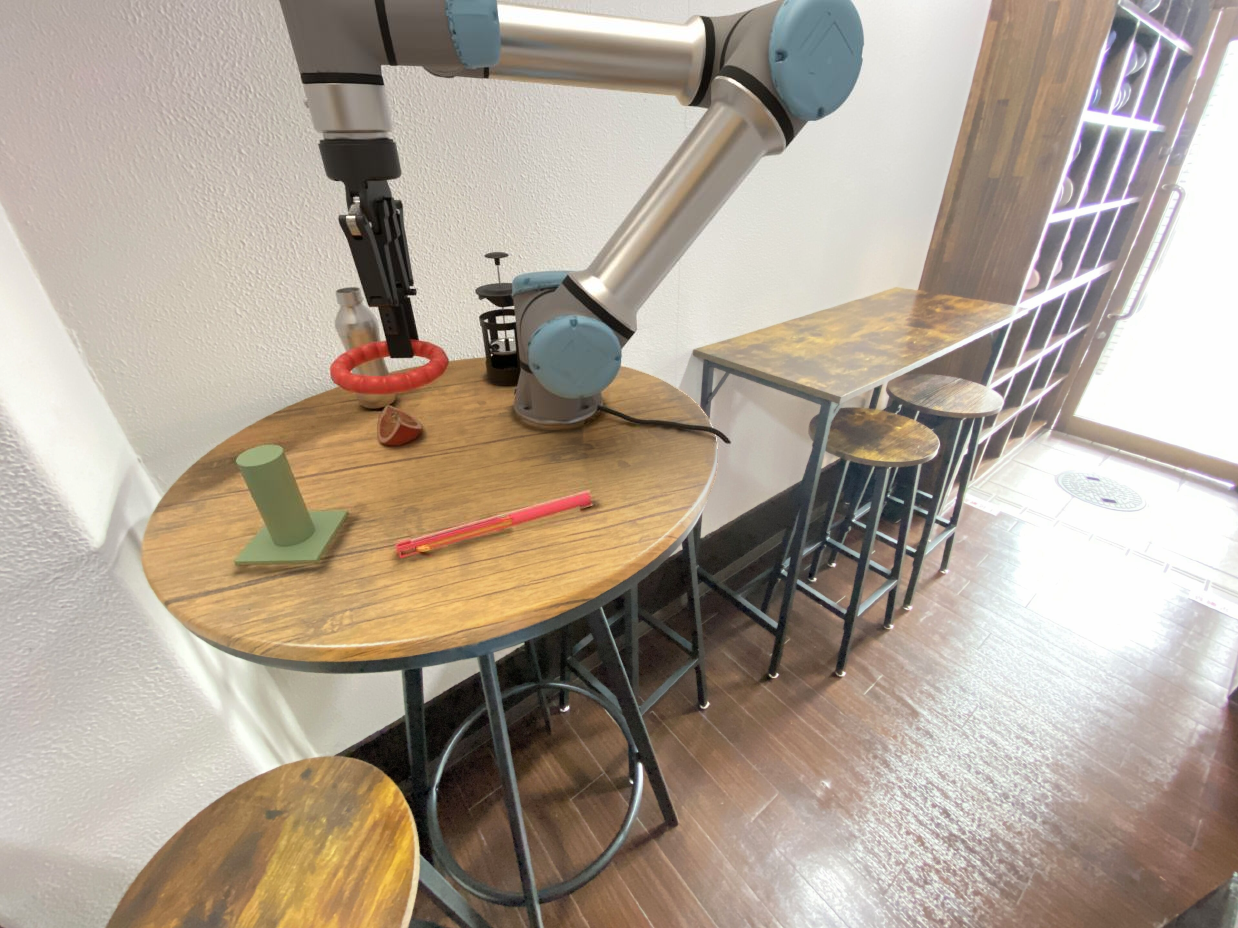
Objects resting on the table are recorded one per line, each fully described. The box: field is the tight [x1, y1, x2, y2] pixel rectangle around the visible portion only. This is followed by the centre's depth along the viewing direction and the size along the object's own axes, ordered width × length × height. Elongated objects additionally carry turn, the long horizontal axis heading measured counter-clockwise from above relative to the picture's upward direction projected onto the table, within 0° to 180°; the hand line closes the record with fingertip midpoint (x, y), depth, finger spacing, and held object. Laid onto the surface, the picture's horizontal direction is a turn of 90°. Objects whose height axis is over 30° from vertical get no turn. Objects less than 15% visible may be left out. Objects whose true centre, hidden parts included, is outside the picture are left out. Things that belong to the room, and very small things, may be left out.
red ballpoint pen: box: [395, 489, 593, 559], centre depth 65 cm, size 24×2×5 cm
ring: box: [329, 339, 450, 395], centre depth 63 cm, size 13×13×2 cm
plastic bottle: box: [334, 286, 397, 409], centre depth 89 cm, size 6×7×20 cm
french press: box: [474, 251, 521, 387], centre depth 99 cm, size 12×9×23 cm
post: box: [233, 444, 350, 566], centre depth 60 cm, size 9×9×12 cm
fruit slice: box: [376, 404, 424, 447], centre depth 83 cm, size 8×7×5 cm
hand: (405, 352), depth 68 cm, fingers closed on ring, 2 cm apart
